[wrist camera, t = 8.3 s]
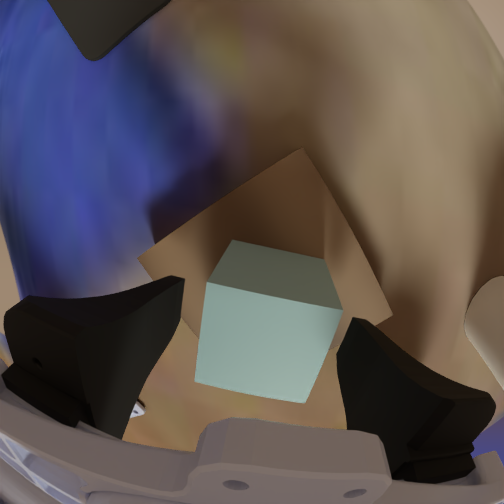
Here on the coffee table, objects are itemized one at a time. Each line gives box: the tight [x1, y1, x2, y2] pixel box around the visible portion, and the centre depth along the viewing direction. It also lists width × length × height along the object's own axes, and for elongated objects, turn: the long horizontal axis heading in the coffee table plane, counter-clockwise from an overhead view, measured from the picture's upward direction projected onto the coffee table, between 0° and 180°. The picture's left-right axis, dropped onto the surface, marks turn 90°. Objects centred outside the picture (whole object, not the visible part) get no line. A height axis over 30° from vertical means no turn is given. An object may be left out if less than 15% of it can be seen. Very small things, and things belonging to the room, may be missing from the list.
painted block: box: [195, 240, 343, 403], centre depth 12 cm, size 4×4×5 cm
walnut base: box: [137, 147, 393, 350], centre depth 16 cm, size 10×10×3 cm
